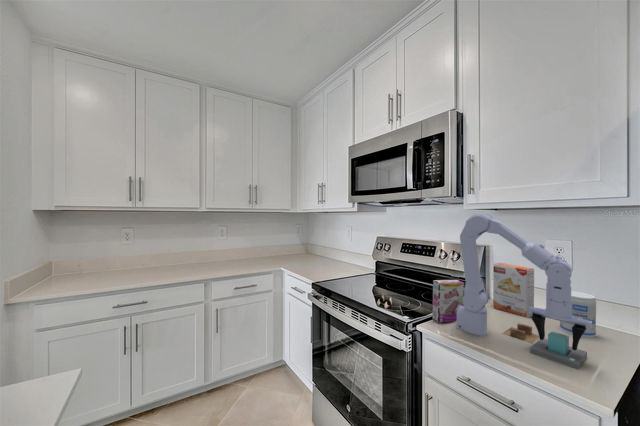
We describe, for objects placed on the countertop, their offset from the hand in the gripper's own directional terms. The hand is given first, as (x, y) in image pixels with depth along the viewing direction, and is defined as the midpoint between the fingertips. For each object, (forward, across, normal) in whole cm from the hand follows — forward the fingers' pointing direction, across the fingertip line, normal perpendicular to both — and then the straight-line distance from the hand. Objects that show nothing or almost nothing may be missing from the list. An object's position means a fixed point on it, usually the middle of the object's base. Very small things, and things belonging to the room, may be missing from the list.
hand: (557, 343), depth 82 cm
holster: (+4, +11, -6) cm, 14 cm away
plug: (+4, 0, 0) cm, 4 cm away
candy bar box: (+5, +34, 0) cm, 35 cm away
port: (+4, 0, 0) cm, 4 cm away
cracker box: (+5, +22, -32) cm, 39 cm away
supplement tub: (+4, 0, -26) cm, 27 cm away
